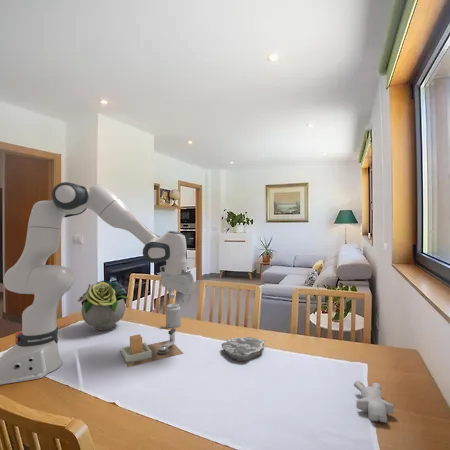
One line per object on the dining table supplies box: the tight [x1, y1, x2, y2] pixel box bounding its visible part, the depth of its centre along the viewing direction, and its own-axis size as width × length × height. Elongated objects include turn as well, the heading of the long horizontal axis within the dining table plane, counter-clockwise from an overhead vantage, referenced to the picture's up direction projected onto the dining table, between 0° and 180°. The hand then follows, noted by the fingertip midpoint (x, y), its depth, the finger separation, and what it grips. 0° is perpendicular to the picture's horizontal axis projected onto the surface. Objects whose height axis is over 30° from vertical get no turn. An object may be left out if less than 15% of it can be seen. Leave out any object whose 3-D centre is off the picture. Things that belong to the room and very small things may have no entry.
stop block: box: [129, 334, 143, 355], centre depth 117 cm, size 4×4×7 cm
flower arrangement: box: [77, 280, 130, 331], centre depth 153 cm, size 25×25×24 cm
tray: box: [121, 342, 152, 365], centre depth 117 cm, size 10×10×2 cm
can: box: [165, 303, 182, 329], centre depth 152 cm, size 8×8×12 cm
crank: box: [159, 328, 177, 352], centre depth 123 cm, size 11×3×6 cm, turn 161°
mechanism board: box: [119, 339, 185, 368], centre depth 120 cm, size 22×16×2 cm
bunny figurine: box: [353, 380, 395, 424], centre depth 85 cm, size 10×5×15 cm
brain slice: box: [220, 336, 265, 362], centre depth 123 cm, size 20×17×3 cm
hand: (178, 300), depth 127 cm, fingers open, 8 cm apart
